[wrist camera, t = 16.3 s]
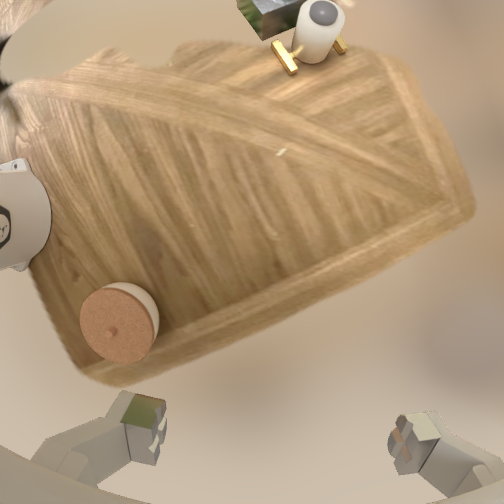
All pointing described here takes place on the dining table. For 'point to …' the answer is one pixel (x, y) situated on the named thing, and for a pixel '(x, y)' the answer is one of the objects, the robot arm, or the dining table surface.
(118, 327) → the lidded jar
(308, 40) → the white bottle
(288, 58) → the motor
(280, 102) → the dining table surface
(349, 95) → the dining table surface
